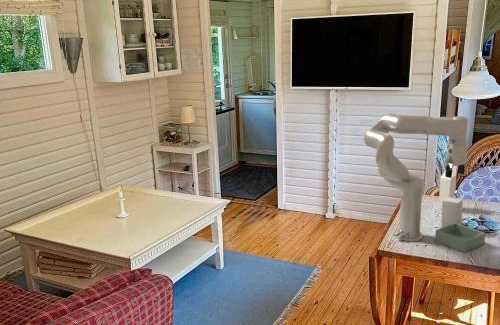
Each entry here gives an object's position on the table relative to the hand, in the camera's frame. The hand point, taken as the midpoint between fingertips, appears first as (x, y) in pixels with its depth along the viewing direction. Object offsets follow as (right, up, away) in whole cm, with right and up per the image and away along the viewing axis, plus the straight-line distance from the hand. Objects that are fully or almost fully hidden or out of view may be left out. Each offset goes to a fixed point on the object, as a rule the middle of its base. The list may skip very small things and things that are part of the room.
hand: (454, 175), depth 221 cm
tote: (-2, -32, -10) cm, 33 cm away
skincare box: (+1, -27, +7) cm, 28 cm away
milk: (+10, -20, +32) cm, 39 cm away
